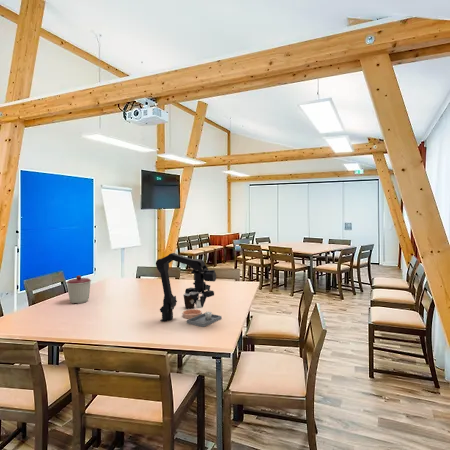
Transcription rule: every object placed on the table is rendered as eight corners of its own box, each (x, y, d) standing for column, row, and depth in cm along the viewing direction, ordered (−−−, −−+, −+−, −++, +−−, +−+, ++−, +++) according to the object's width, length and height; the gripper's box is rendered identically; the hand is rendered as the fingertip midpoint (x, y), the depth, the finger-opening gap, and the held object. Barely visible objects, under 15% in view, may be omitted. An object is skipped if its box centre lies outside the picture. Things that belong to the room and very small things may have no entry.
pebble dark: (209, 320, 200) (208, 313, 200) (204, 319, 202) (203, 312, 202) (212, 318, 203) (212, 312, 203) (207, 317, 205) (207, 311, 205)
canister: (66, 301, 258) (65, 274, 258) (90, 298, 267) (90, 272, 266) (67, 306, 242) (66, 278, 242) (92, 303, 250) (92, 276, 250)
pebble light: (200, 308, 193) (200, 301, 193) (195, 307, 196) (194, 300, 195) (204, 306, 196) (204, 299, 196) (199, 305, 199) (199, 299, 199)
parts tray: (203, 328, 188) (203, 324, 188) (186, 324, 196) (186, 320, 196) (221, 320, 203) (221, 316, 203) (205, 316, 210) (205, 312, 210)
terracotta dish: (193, 321, 202) (193, 316, 202) (178, 317, 209) (178, 313, 209) (205, 316, 212) (205, 311, 212) (191, 313, 219) (191, 308, 219)
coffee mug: (184, 310, 226) (183, 295, 226) (183, 306, 235) (183, 293, 235) (200, 308, 229) (200, 294, 228) (199, 305, 237) (198, 292, 237)
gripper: (219, 279, 197) (219, 305, 197) (196, 277, 208) (196, 301, 208) (208, 283, 188) (208, 309, 188) (184, 280, 199) (184, 305, 199)
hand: (199, 306), depth 196 cm, fingers closed on pebble light, 4 cm apart
